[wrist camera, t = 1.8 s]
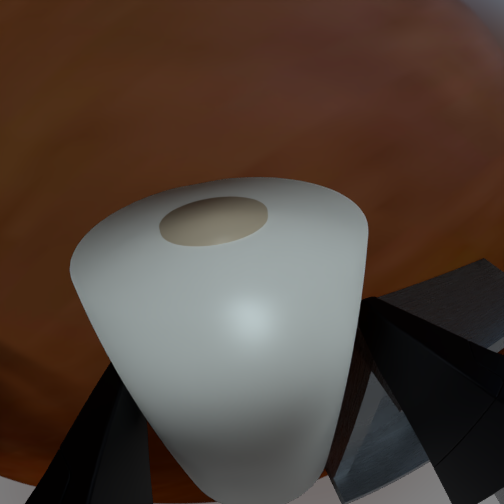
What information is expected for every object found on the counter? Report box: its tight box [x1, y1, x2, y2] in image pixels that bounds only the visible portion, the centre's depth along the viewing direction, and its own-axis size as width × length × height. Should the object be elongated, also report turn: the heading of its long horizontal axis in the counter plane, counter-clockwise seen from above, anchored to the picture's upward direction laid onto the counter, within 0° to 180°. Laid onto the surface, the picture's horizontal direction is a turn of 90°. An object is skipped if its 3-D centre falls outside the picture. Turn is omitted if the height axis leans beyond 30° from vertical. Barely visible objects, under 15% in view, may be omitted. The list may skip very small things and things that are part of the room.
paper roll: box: [70, 177, 368, 504], centre depth 8 cm, size 9×6×6 cm, turn 6°
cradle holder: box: [325, 258, 504, 504], centre depth 14 cm, size 9×14×4 cm, turn 6°
